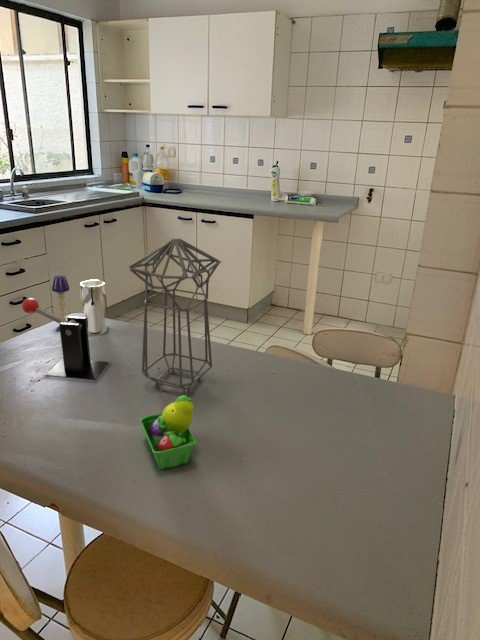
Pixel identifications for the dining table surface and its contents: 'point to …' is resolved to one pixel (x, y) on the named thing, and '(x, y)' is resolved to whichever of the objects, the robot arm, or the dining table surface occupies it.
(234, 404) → the dining table surface
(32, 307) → the switch lever
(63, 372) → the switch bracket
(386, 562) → the dining table surface
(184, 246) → the geometric lantern
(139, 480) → the dining table surface
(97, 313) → the silver metal vase
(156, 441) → the fruit basket
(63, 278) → the toy lamp
